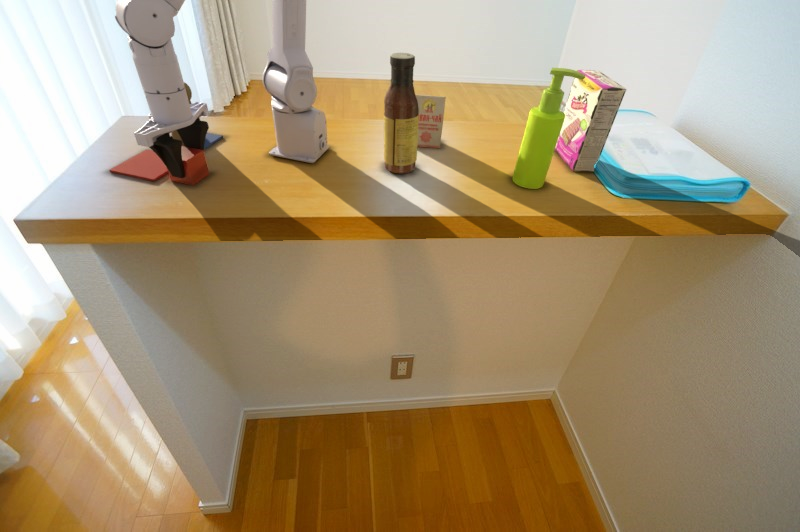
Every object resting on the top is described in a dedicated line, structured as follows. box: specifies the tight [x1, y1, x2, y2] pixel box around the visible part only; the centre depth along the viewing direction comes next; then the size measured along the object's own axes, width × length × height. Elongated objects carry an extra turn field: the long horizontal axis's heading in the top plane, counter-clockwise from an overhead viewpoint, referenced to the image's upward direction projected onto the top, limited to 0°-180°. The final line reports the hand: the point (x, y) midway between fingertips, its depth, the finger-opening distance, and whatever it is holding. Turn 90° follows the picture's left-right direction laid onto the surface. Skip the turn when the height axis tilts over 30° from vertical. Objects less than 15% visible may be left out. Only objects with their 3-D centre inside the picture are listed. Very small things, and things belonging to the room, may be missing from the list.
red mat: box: [108, 149, 169, 182], centre depth 74 cm, size 9×9×1 cm
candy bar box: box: [554, 69, 627, 173], centre depth 82 cm, size 11×5×16 cm, turn 6°
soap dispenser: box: [511, 67, 585, 190], centre depth 72 cm, size 6×7×20 cm
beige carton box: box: [415, 94, 447, 149], centre depth 86 cm, size 4×7×10 cm, turn 87°
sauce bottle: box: [383, 52, 419, 175], centre depth 73 cm, size 6×6×20 cm
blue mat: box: [170, 132, 224, 150], centre depth 83 cm, size 9×9×1 cm
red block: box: [167, 146, 210, 186], centre depth 71 cm, size 4×4×4 cm
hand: (188, 169), depth 71 cm, fingers closed on red block, 4 cm apart
